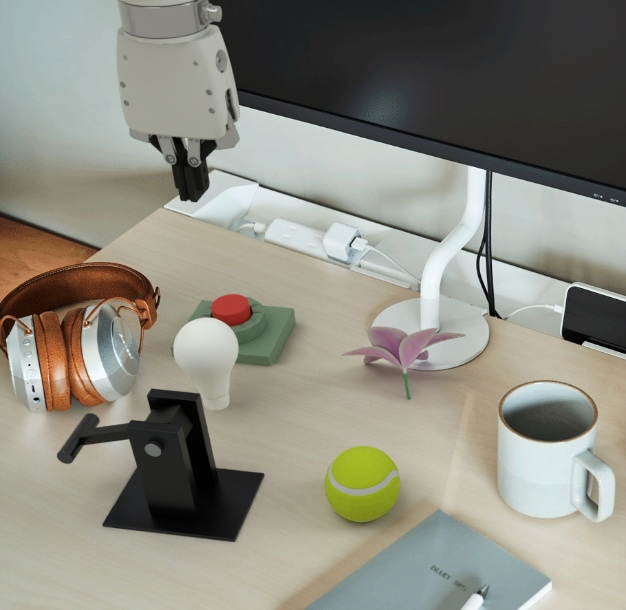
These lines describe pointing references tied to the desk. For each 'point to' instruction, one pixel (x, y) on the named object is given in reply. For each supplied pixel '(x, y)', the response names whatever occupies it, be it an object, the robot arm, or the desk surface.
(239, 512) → the switch bracket
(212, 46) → the robot arm
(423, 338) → the lily
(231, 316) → the button
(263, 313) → the button box
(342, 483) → the tennis ball
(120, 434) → the switch lever
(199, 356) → the lightbulb
